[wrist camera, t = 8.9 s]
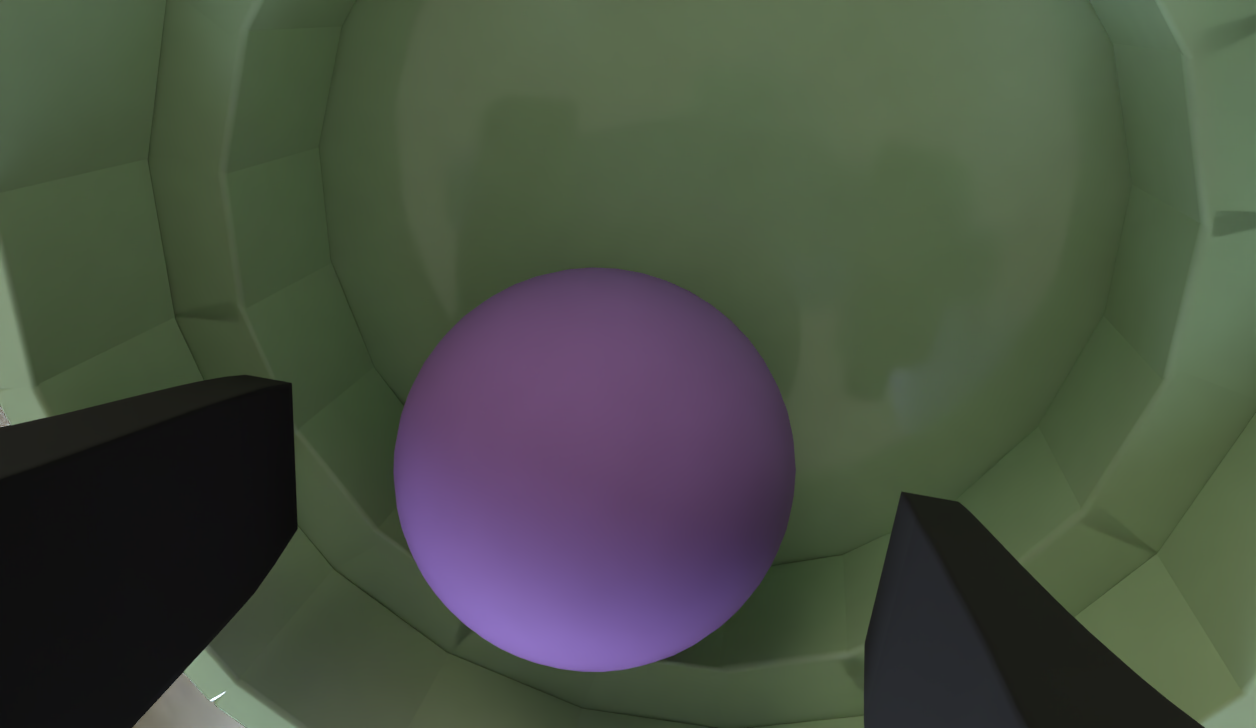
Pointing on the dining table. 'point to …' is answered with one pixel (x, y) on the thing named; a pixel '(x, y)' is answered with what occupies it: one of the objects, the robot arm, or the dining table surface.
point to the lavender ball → (594, 469)
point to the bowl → (692, 259)
